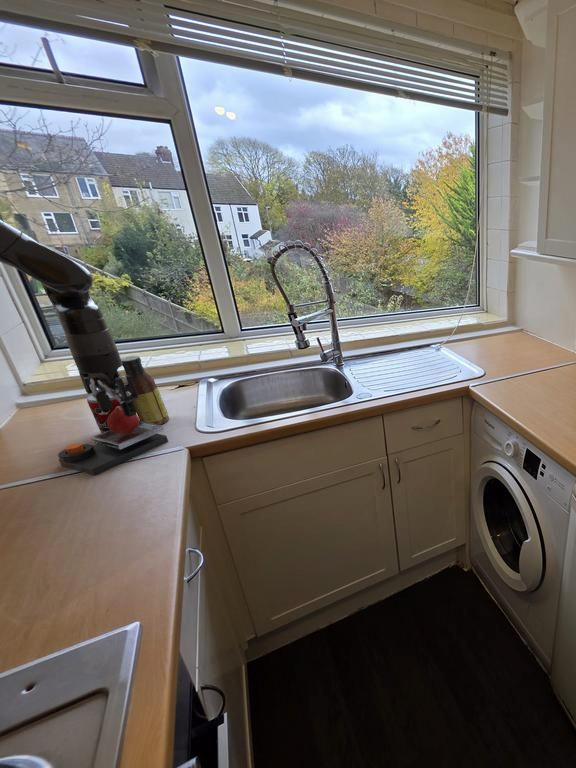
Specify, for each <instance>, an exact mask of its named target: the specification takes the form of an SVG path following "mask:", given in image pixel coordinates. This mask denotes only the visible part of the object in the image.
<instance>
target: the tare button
mask: <svg viewBox="0 0 576 768" xmlns="http://www.w3.org/2000/svg"><path fill="white" fill-rule="evenodd" d="M82 444H83V443H81V442H76V443H71V444H69V445H67V446H65V448H64V449H66V451H67V453H68V454H74V453H78V452H80V451H83V450H84V447H83V445H82Z"/></svg>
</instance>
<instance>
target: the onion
mask: <svg viewBox="0 0 576 768" xmlns="http://www.w3.org/2000/svg"><path fill="white" fill-rule="evenodd" d="M107 425H108V428H109V429H110V430H111V431H113V432H115V433H118V434H123V435H131V434H132V433H133V431H134V430H135V429H136V428H137V427H138V425H139V417H138V415H137V413H136V414H135V415H132V416H130V417H126V416H124V413H123V411H122V408H121V407H120V406H118V407H116V408H115V410H114V411H113V412H112V413H111V414H110V415H109V417H108V418H107Z"/></svg>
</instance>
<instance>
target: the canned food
mask: <svg viewBox="0 0 576 768" xmlns="http://www.w3.org/2000/svg"><path fill="white" fill-rule="evenodd" d="M116 391H117V390H116ZM105 395H106V394H105ZM107 395H108V396H109V398H110V401H111V403H112V406H113V408H112V409H110V410H107V411H101V410H100V408H99V405H98V403H97V400H96V397H95V398H94V397H93V396H92V394H89V396H87V397H86V402H87V404H88V407H89V409H90V411H91V413H92V416H93V419H94V421H95V422H96V425H97V427H98V429H99V431H100V434H101V433H103V432H106V431H108V430H110V429H109V428H108V425H107V418H108V417H109V415H110V414H111V413H112V412H113V411H114V410H115V408H116V407H118V406H120V402H119V401H118V400H117V399H116V398H115V397H113V396H111V395H110V394H109V393H108V392H107ZM119 395H120V396H121V394H119ZM121 397H122V396H121ZM120 407H121V406H120Z"/></svg>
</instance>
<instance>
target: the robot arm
mask: <svg viewBox="0 0 576 768" xmlns="http://www.w3.org/2000/svg"><path fill="white" fill-rule="evenodd" d="M0 263H1V264H4V265H7V266H9V267H11V268H14V269H16V270H18V271H20V272H22V273H24V274H26V275H27V276H29V277H31V278H33V279H34V280H36V281H38V282H39V283H40V284H41V286H42V289H43V290H44V292H45V294H46V296H47V298H48V300H49V301H50V302H51V304H52V306H53V308H54V309H55V312H56V315H57V318H58V320H59V324H60V325H61V328H62V330H63V333H64V335H65V339H66V344H67V346H68V349H69V351H70V354H71V356H72V358H73V361H74V363H75V366H76V368H77V370H78V374H79V377H80V379H81V382H82V384H83V387H84V389H85V392H86V394H88V395H92V396H93V397H94V398H95V397H96V400H97V403H98V405H99V408H100V410H101V411H107V410H110V409H112V408H113V406H112V403H111V401H110V398H109V396H108V395H107V392H108V393H109V394H110V395H111V396H113V397H115V398H116V399H117V400H118V401H119V402H120V406H121V408H122V411H123V413H124V416H126V417H130V416H132V415H135V414H136V415H137V412H136V409H135V407H134V404H133V401H132V400H134V399H137V398H138V395H137V393H136V390H135V388H134V385H133V383H132V381H131V378H130V376H129V375H126V374H125V375H121V374H120V373H119V371H118V370H119V368H121V367H123V366H122V364H123V363H122V360H121V359H122V358H121V355H120V352H119V350H118V348H117V345H116V342H115V339H114V337H113V335H112V333H111V331H110V329H109V328H108V324H107V322H106V319H105V316H104V314H103V312H102V310H101V308H100V306H98V305H97V304H96V303H95V301H94V300H93V297H92V295H91V292H90V290H91V289H92V287H93V285H94V279H93V275H92V274H91V272H90V271H89V270H88V269H87V268H86V267H85V266H83V265H82V264H80V263H78V262H76V261H75V260H73V259H71V258H69V257H67V256H66V255H63V254H61V253H59V252H57V251H56V250H53V249H51V248H49V247H47V246H45V245H44V244H42V243H40V242H38V241H37V240H35V239H34V238H33V237H30V235H28V234H26V233H24V232H23V231H22V230H19V229H17V228H15V227H14V226H12V225H11V224H9V223H7V222H6V221H4V220H2V219H0ZM116 390H117V391H116ZM129 391H130V392H131V393H130V392H129ZM105 394H106V395H105ZM119 394H121V396H122V397H121V396H120V395H119ZM131 394H132V395H131Z"/></svg>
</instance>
